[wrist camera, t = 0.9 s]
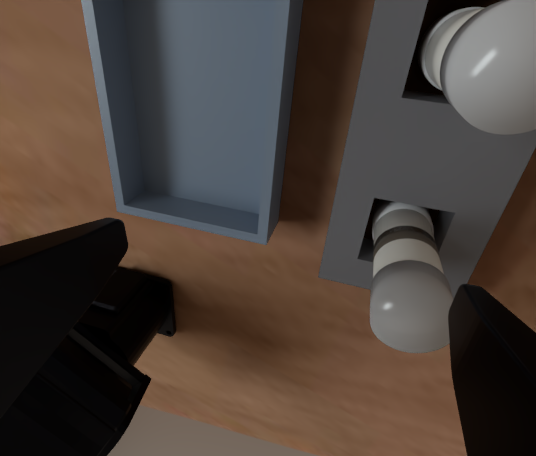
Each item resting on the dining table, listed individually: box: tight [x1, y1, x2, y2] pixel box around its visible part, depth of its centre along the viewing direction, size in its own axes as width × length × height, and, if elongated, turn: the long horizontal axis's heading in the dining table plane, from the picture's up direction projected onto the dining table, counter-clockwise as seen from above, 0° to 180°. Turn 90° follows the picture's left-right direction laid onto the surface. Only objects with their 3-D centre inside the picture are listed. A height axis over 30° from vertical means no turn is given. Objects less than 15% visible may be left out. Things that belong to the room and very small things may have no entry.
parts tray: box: [81, 0, 303, 245], centre depth 19 cm, size 14×10×3 cm
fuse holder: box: [318, 0, 536, 299], centre depth 17 cm, size 17×8×2 cm, turn 175°
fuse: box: [418, 0, 536, 135], centre depth 12 cm, size 3×3×9 cm
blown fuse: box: [370, 199, 453, 353], centre depth 17 cm, size 3×3×9 cm
